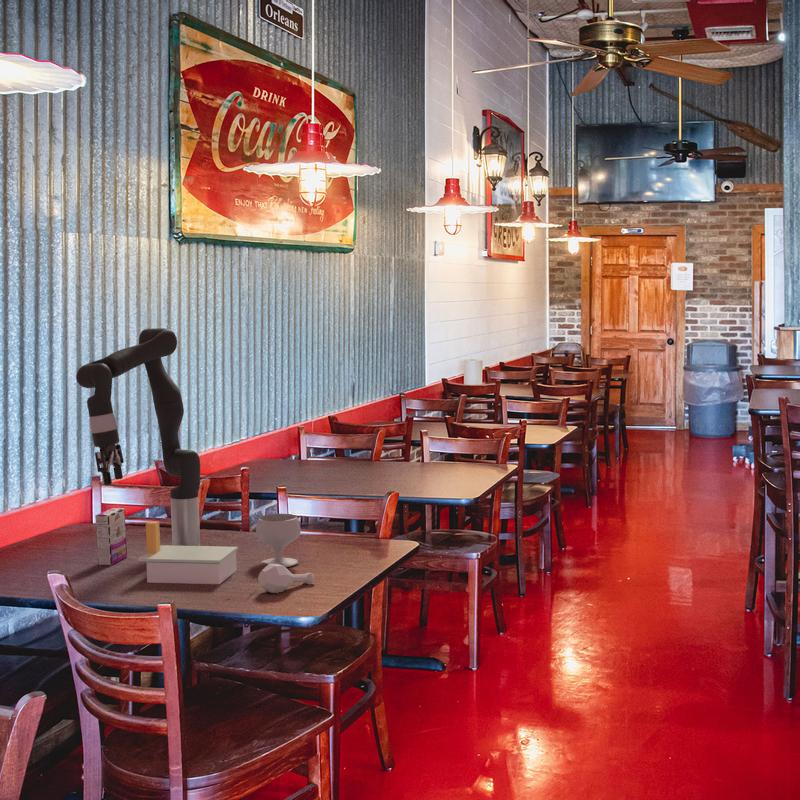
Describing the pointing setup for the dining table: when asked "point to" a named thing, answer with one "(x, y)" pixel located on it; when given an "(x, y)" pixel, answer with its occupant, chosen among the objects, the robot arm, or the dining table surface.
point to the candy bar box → (111, 536)
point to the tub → (191, 571)
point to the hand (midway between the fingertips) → (113, 481)
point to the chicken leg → (281, 578)
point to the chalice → (278, 535)
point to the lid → (180, 550)
